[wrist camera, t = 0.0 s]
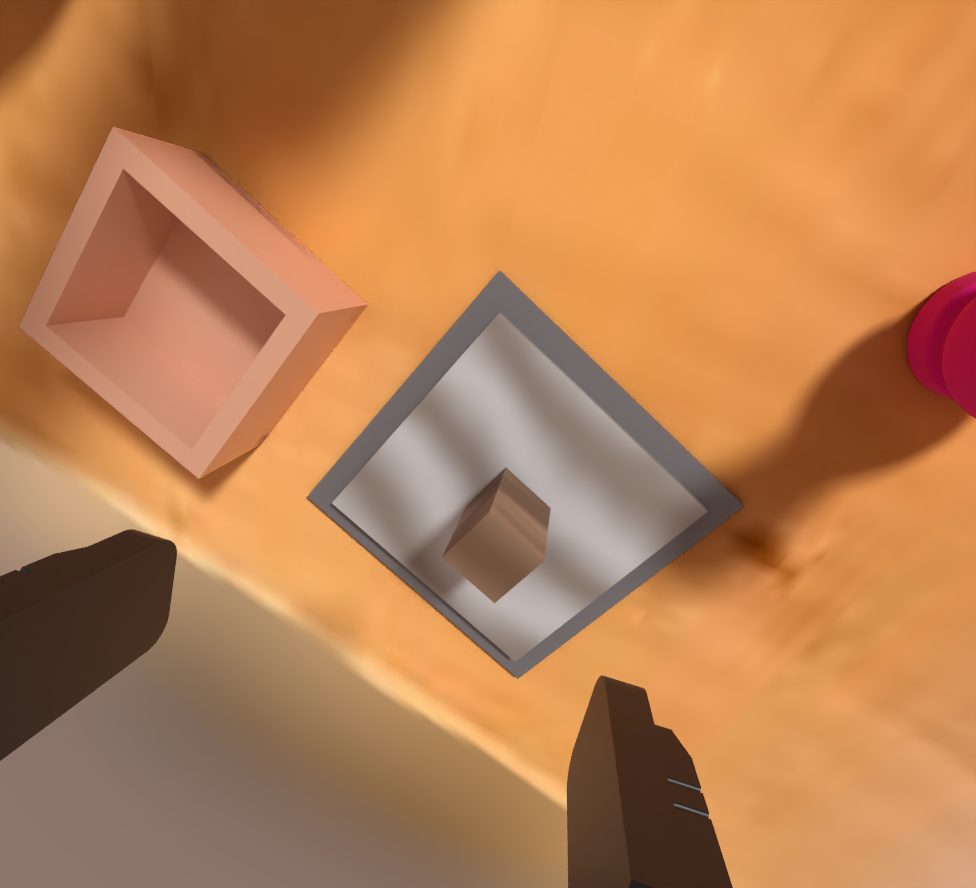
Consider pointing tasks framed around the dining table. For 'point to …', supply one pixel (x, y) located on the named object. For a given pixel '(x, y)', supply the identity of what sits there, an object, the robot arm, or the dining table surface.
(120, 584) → the robot arm
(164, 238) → the pink storage bin
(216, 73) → the dining table surface
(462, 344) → the mat
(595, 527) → the lid
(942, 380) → the pepper mill
